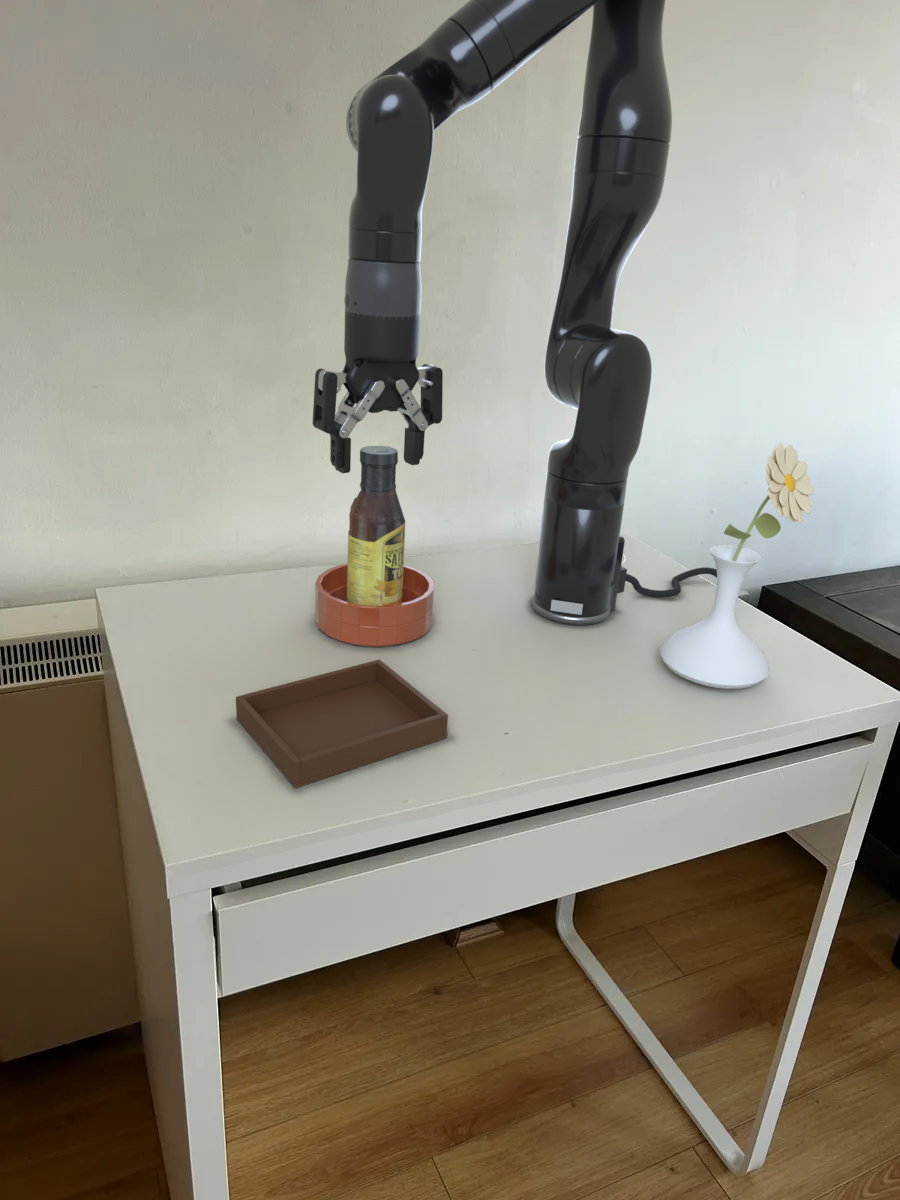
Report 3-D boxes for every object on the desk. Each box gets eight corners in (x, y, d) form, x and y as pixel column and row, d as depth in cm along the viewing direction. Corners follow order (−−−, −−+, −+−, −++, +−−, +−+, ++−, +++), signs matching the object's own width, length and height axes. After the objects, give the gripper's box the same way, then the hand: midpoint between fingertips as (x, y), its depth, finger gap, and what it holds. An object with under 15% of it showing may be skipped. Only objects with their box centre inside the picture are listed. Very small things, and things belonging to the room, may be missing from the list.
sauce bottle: (393, 635, 100) (399, 461, 92) (339, 627, 101) (340, 454, 93) (407, 611, 106) (414, 445, 98) (356, 604, 107) (359, 439, 99)
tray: (378, 680, 91) (379, 658, 90) (446, 738, 82) (448, 714, 81) (236, 719, 83) (235, 696, 82) (294, 788, 74) (294, 763, 73)
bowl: (393, 591, 112) (394, 554, 110) (454, 633, 102) (456, 593, 100) (296, 612, 105) (295, 573, 103) (351, 659, 95) (352, 616, 93)
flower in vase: (699, 706, 90) (747, 463, 80) (637, 655, 100) (673, 432, 89) (802, 688, 95) (859, 457, 85) (733, 641, 104) (777, 428, 94)
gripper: (337, 314, 83) (335, 484, 89) (463, 312, 90) (452, 469, 97) (300, 304, 88) (301, 465, 95) (422, 303, 96) (415, 452, 102)
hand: (377, 467), depth 96 cm, fingers open, 8 cm apart
